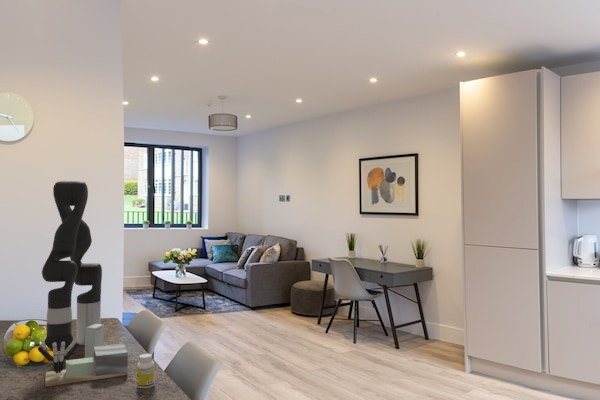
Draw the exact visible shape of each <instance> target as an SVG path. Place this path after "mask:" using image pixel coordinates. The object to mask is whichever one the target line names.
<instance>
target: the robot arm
mask: <svg viewBox="0 0 600 400" xmlns="http://www.w3.org/2000/svg"><path fill="white" fill-rule="evenodd" d="M52 192H53V199H54V203H55V204H56V209H57V211H58V214H59V216H60V221H61V223H60V225H58V228H57V229H56V231H55V233H54V237H53V243H52V248H51V250H50V253H49V256H47V259H46V261H45V263H44V264H43V267H42V270H41V275H42V278H43V280H44V281H45V282H48V283H55V282H56V283H61V282H63V283H64V284H63V286H61V287H58V288H54V289H51V290H49V291H48V294H47V312H46V332H45V333H46V337H45V339H44V342H43V343H42V344H40V345H38V346H37V351H38V352H39V353H40V354H41V355H42V356H43V357H44V358H45V359H46V360H47V361H48V362H53V371H54V372H56V373H61V371H62V370H63V369H64V361H66V360H70V358H71V356H72V355H73V354H74V353H75V351H76V350H77V349H78V348H79V347H80V346H85V328H86V327H88V326H90V325H94V324H102V323H101V316H102V315H101V314H102V313H101V311H102V310H101V309H102V305H101V302H102V301H101V300H102V299H101V298H102V297H101V295H102V279H103V269H102V265H101V263H96V262H93V263H92V262H91V263H87V262H86V263H83V262H82V260H83V257H84V256H85V254H86V253H87V252H88V250H89V249H90V247H91V245H92V242H93V241H92V235H91V229H90V227H89V225H88V224H87V223H86V222H85V221H84V220H83V216H84V214H85V209H86V206H87V203H88V196H89V189H88V185H87V184H86V182H85V181H83V180H82V181H81V180H75V181H74V180H69V181H68V180H67V181H66V180H60V181H57V182H55V184H54V185H53V191H52ZM71 207H73V209H72V208H71ZM67 258H69V259H70V260H63V259H67ZM74 284H75V285H77V286H82V287H83V286H85V287H86V286H91V289H88V290H87V291H85V292H83V293H80V294H78V295H77V296H76V340H75V339H74V337H73V336H72V331H73V329H72V327H73V326H72V325H73V323H72V322H73V310H72V294H73V288H74V287H73V286H74ZM69 347H70V348H69ZM47 348H48V349H49V350H50V352H52V354H50V353H49V352H48V350H47ZM68 348H69V350H68V351H67V353H66V354H65V351H66V350H67V349H68ZM58 353H59V354H58ZM58 356H59V357H58Z"/></svg>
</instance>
